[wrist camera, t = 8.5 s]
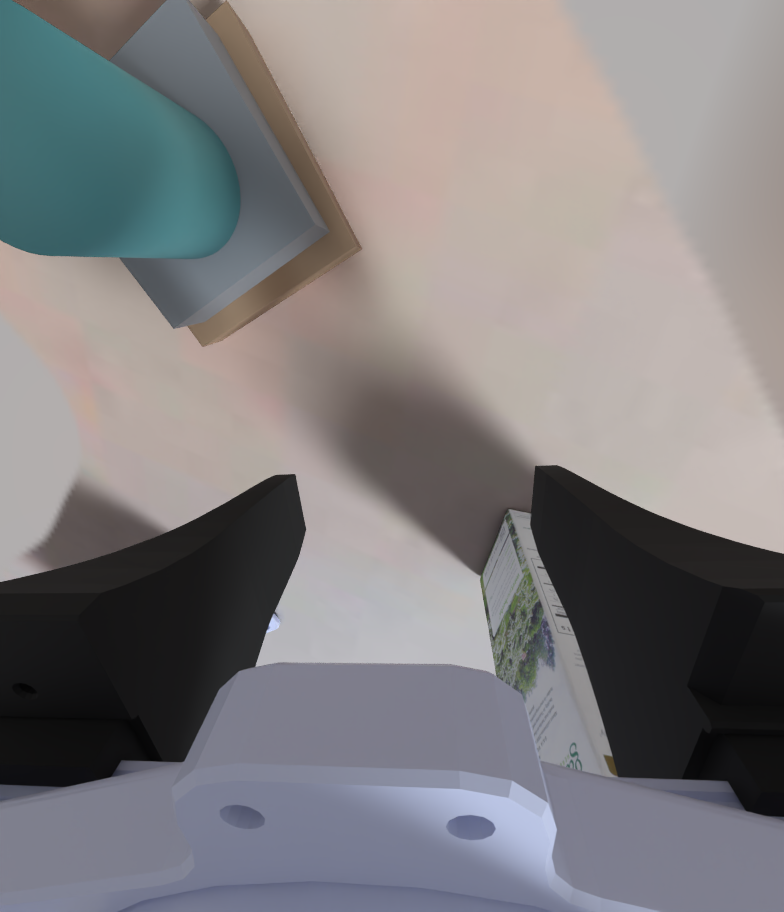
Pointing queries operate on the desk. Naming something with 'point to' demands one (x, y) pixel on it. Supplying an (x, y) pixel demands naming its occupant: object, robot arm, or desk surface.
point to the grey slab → (252, 152)
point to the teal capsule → (102, 156)
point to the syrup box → (541, 652)
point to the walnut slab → (286, 130)
